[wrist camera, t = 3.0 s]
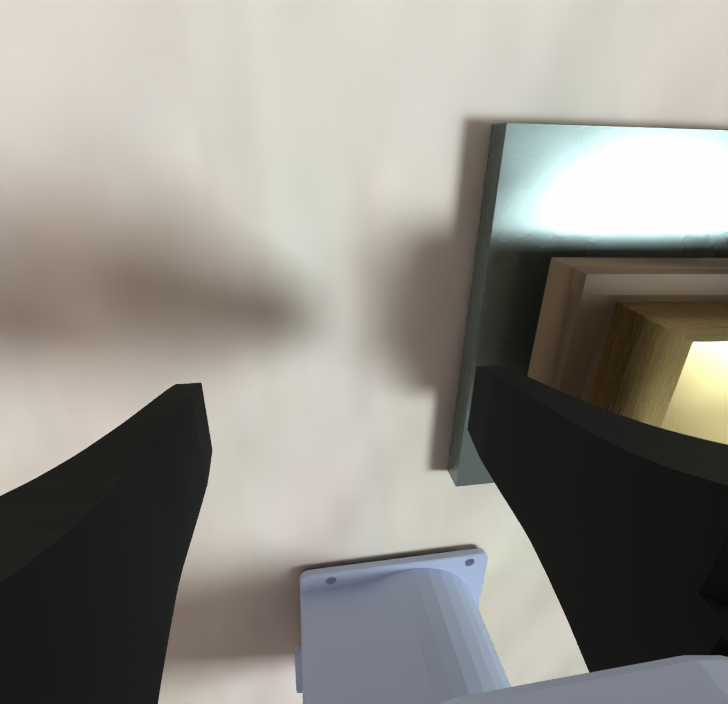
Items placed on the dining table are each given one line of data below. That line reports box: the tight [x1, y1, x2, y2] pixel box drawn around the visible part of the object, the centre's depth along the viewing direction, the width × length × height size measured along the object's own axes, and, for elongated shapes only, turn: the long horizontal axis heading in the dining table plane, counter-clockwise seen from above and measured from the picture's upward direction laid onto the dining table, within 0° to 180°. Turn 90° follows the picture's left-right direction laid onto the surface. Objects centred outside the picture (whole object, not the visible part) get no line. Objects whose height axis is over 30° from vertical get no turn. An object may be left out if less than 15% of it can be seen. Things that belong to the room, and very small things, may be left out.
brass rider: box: [588, 302, 728, 444], centre depth 12 cm, size 6×4×3 cm
